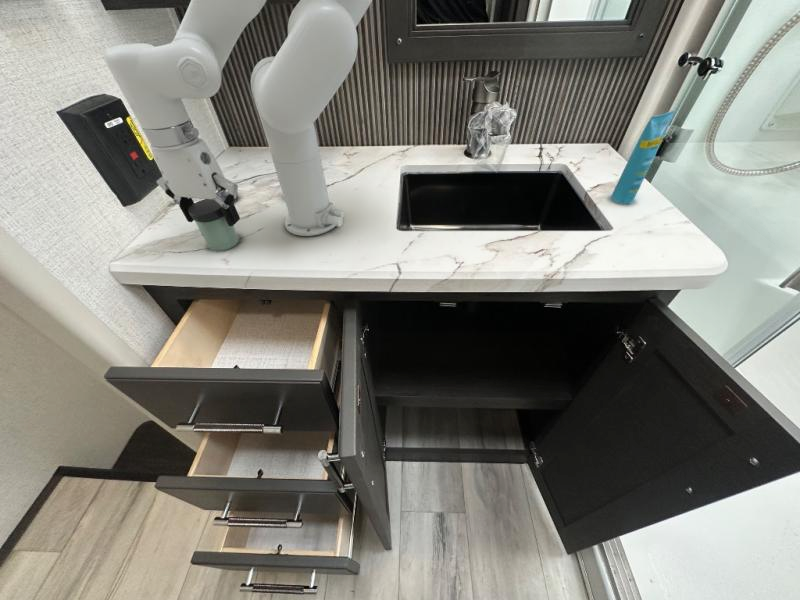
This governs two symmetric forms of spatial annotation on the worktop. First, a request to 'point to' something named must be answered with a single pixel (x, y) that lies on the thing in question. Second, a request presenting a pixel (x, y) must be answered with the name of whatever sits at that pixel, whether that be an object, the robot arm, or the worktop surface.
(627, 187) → the tube
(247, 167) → the worktop surface
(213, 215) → the lid
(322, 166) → the robot arm
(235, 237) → the jar
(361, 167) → the worktop surface
